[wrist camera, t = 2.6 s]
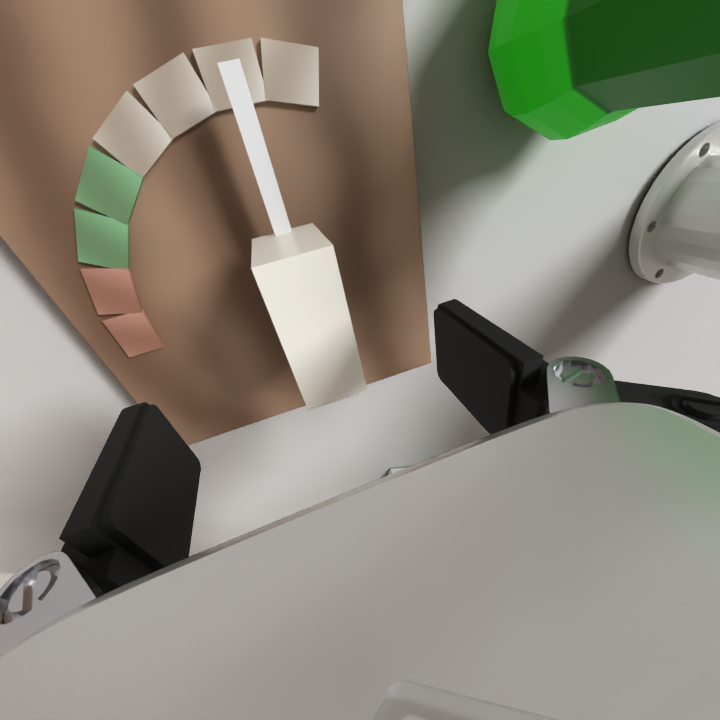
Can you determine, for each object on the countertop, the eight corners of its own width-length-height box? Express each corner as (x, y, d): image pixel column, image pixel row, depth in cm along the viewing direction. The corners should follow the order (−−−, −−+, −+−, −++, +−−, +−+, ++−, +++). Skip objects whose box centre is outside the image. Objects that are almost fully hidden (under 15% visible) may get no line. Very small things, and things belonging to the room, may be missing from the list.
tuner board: (359, -204, 12) (383, -287, 10) (417, 347, 27) (432, 364, 25) (-244, -142, 10) (-392, -231, 8) (181, 425, 25) (174, 452, 22)
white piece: (267, 68, 13) (276, 4, 8) (337, 329, 21) (367, 390, 15) (196, 83, 13) (153, 26, 8) (293, 343, 21) (308, 410, 15)
